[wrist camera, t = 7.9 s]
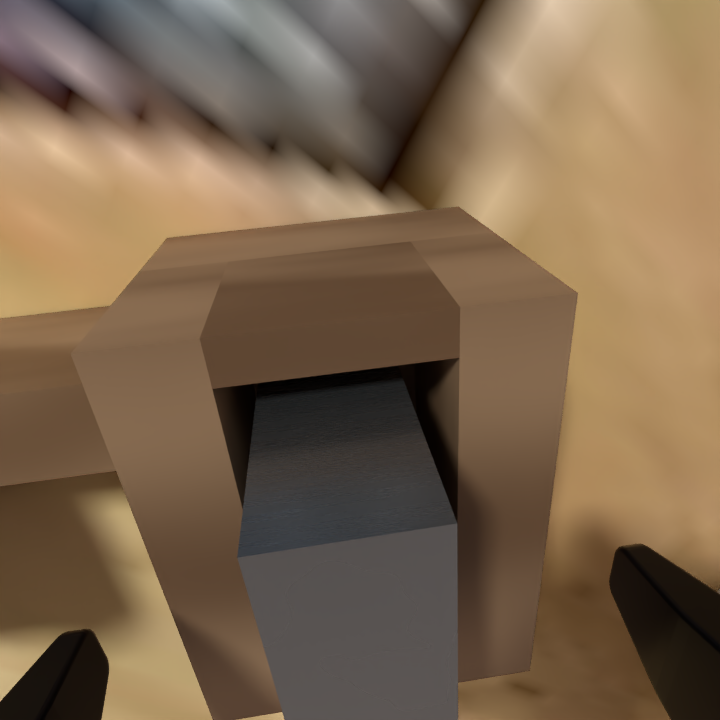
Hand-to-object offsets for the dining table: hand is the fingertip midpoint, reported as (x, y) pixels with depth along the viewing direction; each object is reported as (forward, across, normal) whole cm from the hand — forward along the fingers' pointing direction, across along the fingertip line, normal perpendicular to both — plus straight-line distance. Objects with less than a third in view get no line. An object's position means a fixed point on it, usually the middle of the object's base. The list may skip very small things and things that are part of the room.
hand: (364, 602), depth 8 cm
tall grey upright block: (+4, 0, 0) cm, 5 cm away
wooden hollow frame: (+7, +6, 0) cm, 9 cm away
